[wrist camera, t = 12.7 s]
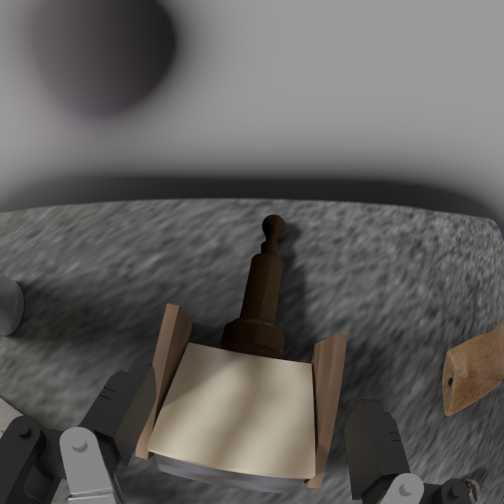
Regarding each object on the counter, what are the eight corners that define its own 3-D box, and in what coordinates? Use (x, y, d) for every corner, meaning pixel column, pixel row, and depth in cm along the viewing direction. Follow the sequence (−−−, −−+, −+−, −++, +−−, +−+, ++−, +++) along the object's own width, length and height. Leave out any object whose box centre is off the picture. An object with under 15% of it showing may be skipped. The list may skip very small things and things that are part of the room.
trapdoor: (155, 469, 21) (146, 446, 18) (188, 375, 34) (188, 342, 31) (296, 493, 20) (315, 475, 18) (298, 394, 33) (311, 363, 31)
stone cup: (489, 317, 35) (552, 288, 21) (499, 383, 30) (565, 369, 16) (428, 339, 34) (503, 312, 20) (438, 417, 29) (515, 418, 15)
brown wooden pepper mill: (259, 360, 33) (280, 238, 43) (295, 356, 28) (309, 218, 38) (210, 345, 31) (242, 217, 40) (240, 339, 26) (269, 193, 35)
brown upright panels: (158, 439, 27) (135, 455, 20) (183, 320, 34) (167, 303, 26) (302, 464, 27) (320, 487, 19) (323, 345, 33) (347, 334, 26)
